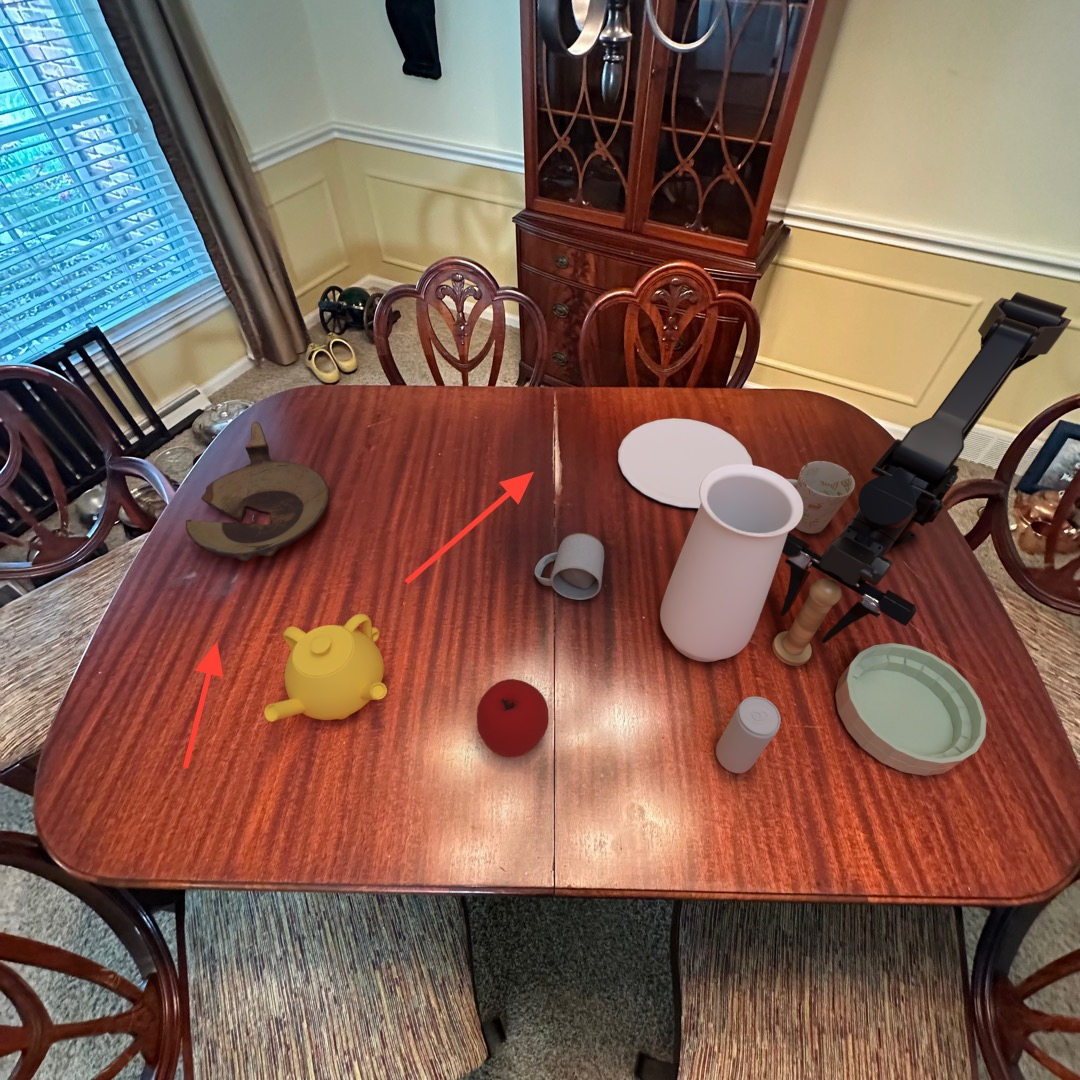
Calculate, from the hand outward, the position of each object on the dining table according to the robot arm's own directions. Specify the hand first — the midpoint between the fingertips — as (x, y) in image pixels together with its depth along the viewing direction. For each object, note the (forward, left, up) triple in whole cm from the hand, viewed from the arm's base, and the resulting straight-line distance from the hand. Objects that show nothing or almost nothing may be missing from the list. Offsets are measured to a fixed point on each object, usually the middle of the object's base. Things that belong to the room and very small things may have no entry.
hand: (802, 629), depth 81 cm
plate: (-10, -40, -7) cm, 42 cm away
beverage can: (+16, +9, -7) cm, 19 cm away
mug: (-19, -20, -7) cm, 29 cm away
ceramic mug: (+22, -25, -7) cm, 34 cm away
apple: (+40, -6, -7) cm, 41 cm away
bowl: (-7, +14, -7) cm, 17 cm away
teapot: (+59, -21, -7) cm, 63 cm away
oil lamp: (+61, -61, -7) cm, 87 cm away
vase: (+9, -8, -7) cm, 14 cm away
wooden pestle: (-1, 0, -7) cm, 7 cm away
